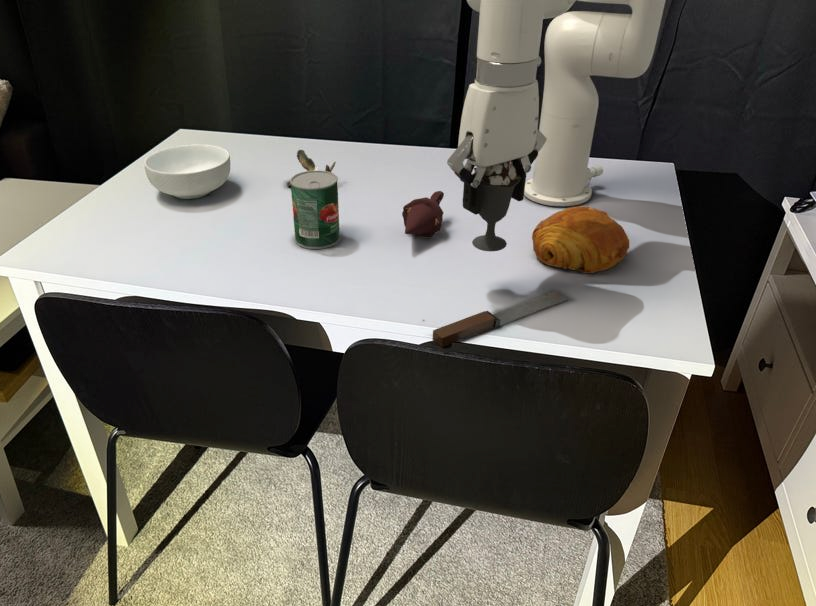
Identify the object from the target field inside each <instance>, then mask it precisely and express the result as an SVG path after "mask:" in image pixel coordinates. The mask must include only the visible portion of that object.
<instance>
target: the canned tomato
mask: <svg viewBox="0 0 816 606" xmlns="http://www.w3.org/2000/svg"><path fill="white" fill-rule="evenodd" d="M338 180H339V179H338V176H337V175H336V174H335V173H333V172H332V171H331V172H327V171H325V170H320V169H319V170H314V171H307V170H306V171H301V172H298V173H296V174H294V175H293V176H291V178H290V180H289V181H290V183H291V186H290V193H291V204H292V205H291V206H292V215H293V219H292V220H293V228H294V241H295V244H296V245H298V246H299V247H301V248H305V249H309V250H322V249H327V248H331V247H333V246H336V244H338V243H339V242H340V239H341V234H340V212H339V209H340V208H339V189H338V188H339V187H338Z"/></svg>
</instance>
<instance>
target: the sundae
mask: <svg viewBox="0 0 816 606" xmlns="http://www.w3.org/2000/svg"><path fill="white" fill-rule="evenodd" d="M476 168H477V167H474V169H473V171H474V172H472V173H471V174H472V175H474V173H475V171H476ZM520 180H521V177H520V176H519V175H516V170H515V168H514V166H513V165H512V164H511V160H510V161H507V162H503V163H500V164H496V165H492V166H488V167H487V168H486V171H485V173H484V175H483V177H482V179H481V182H480V184H479V185H480V186H481V187H482V188H483V191H482V202H481V212H480V213H479V214H478V216H479V217H480V218H481V219H482V220H484V222H486V232H485V234H483V235H479V236H476V237H475V238H473V240H471V243H472V246H473V247H474V248H476V249H477V250H480V251H484V252H498V251H501V250H504V249H505V248H506V247H507V245H508V244H507V241H506V239H504V238H502V237H500V236H498V235H496V230H495V229H496V224H497V223H499V222H500V221H502V220H503V219H504V218H505V217H506V216H507V214H508V211H509V209H510V205H511V201H512V198H511V197H512V193H513V190H514V186H516V185H517V184H518V183H519V182H520Z"/></svg>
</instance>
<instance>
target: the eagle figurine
mask: <svg viewBox="0 0 816 606" xmlns="http://www.w3.org/2000/svg"><path fill="white" fill-rule="evenodd" d="M296 158H297V160H298V163H299V164H300V165H301V167H302V168H303V169H305V170H306V171H314V170H320V167H319V166H317V167H316V164H315V162H314V160H313V159H312V158H310V157H308V155H307V154H306V152H305V150H303V149H298V150H297V152H296ZM335 166H336V161H334V162H333V163H332V164H331V166H330V165H329V164H326V165H325V169H324V171H327V172H331V173H332V171H333V169H334V167H335ZM286 187H291V183H290V180H288V182H287V183H286Z"/></svg>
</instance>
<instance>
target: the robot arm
mask: <svg viewBox="0 0 816 606" xmlns="http://www.w3.org/2000/svg"><path fill="white" fill-rule="evenodd" d="M576 1H577V2H585V3H596V4H616V5H627V6H629V7H630V8H631V13H617V12H607V11H605V12H604V11H589V10H587V11H586V10H579V11H578V10H576V11H575V10H573V11H569V10H570V8H571V7H572V6H573V5H574V4H575V3H576ZM466 2H467V4H468V6H469V7H470V8H471V9H472V10H474V11H475V12H476V13H477V12H478V13H479V18H478V19H479V20H478V32H477V45H476V58H475V59H476V60H475V61H476V62H475V73H474V83H470V84H469V85H468V89H467V92H466V94H465V99H464V103H463V108H462V112H461V117H460V127H459V134H458V144H457V148H456V149H455V150H454V151H453V153H452V154H451V155H450V156H449V158H448V159H447V161H446V164H447V165H448V167H449V168H450V169H451V170H452V171H453V173H454V174H455V176H456V177H457V178H459V181H460V182H462V183H463V191H462V193H463V194H462V209H465V210H466V211H468V212H470V213H471V214H474V215H475V216H476V215H477V216H478V215H479V213H480V212H481V202H482V191H483V188H482V187H481V186H480V185H479V184H480V182H481V179H482V177H483V175H484V173H485V171H486V168H487V167H488V166H492V165H496V164H500V163H503V162H507V161H510V160H511V162H510V163H511V164H512V165H513V166H514V168H515V170H516V175H519V176H520V177H521V180H520V182H519V183H518V184H517V185H516V186H514V190H513V193H512V197H511V199H513V200H515V201H517V202H523V201H524V198H527V199H528V200H530V201H532V202H534V203H537V204H540V205H543V206H544V205H545V206H550V207H575V206H579V205H582V204H584V203H586V202H588V201H590V199H591V197H592V193H593V189H592V187H591V186H590V185H589V181H591V179H592V178H594V179H595V178H597V177H600V176H602V175H603V174H604V168H603V167H602V165H596V166H592V167H589V162H590V161H589V160H590V155H591V151H592V150H591V149H592V143H593V140H594V139H593V138H594V133H595V127H596V121H597V115H598V109H599V103H600V102H599V100H600V99H599V95H598V94H599V93H598V91H597V88H596V86H595V84H594V82H593V80H592V78H591V76H596V77H607V78H619V79H635V78H638V77H641V76H643V75H644V74H645V73H646V71H647V70H648V69H649V67H650V65H651V63H652V59H653V56H654V52H655V48H656V45H657V40H658V36H659V32H660V26H661V22H662V18H663V13H664V9H665V5H666V0H466ZM545 19H546V20H547V19H552V21H550V23H549V25H548V26H547V29H546V31H545V37H544V49H543V50H544V84H543V93H542V96H543V97H542V101H541V102H542V103H541V112H540V111H539V110H540V95H539V92H540V91H539V82H538V80H537V71H538V67H540V66H541V64H542V58H541V56H540V47H541V40H542V39H541V38H542V30H543V24H544V23H543V21H544V20H545ZM539 112H540V115H539ZM539 116H540V119H539ZM465 160H467V161H466V163H465V165H464V162H465ZM533 163H534V166H533V172H532V178H530V179H528V180H527V174H528V173H530V172H531V170H532V165H533ZM474 168H476V171H475V170H474ZM473 171H474V172H473ZM473 173H474V175H472V174H473Z"/></svg>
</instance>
